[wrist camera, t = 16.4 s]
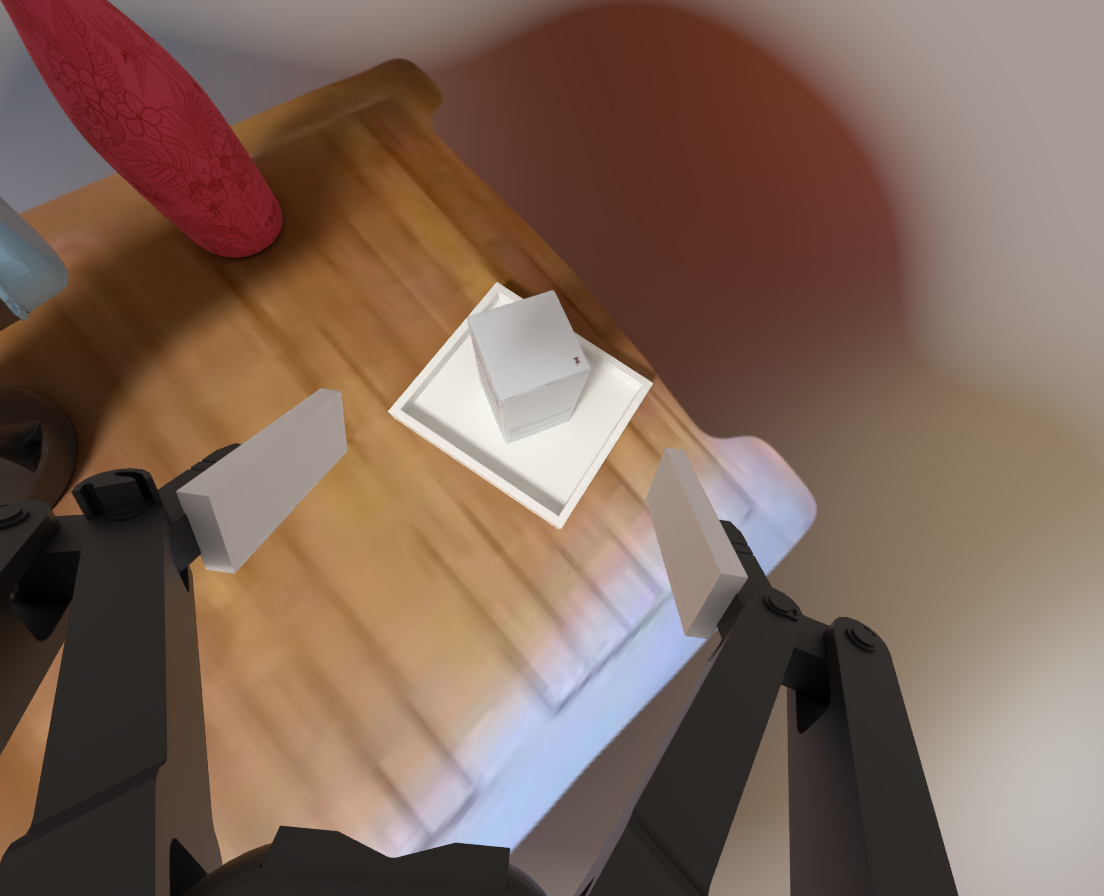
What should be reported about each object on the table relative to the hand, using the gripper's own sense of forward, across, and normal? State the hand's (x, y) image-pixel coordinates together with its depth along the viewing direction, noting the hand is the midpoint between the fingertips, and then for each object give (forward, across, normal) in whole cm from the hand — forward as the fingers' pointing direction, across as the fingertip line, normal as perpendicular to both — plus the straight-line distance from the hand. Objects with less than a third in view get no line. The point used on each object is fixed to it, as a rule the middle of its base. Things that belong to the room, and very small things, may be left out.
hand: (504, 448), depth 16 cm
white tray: (+24, 0, -9) cm, 26 cm away
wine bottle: (+35, -34, +1) cm, 49 cm away
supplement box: (+24, 0, -9) cm, 25 cm away
